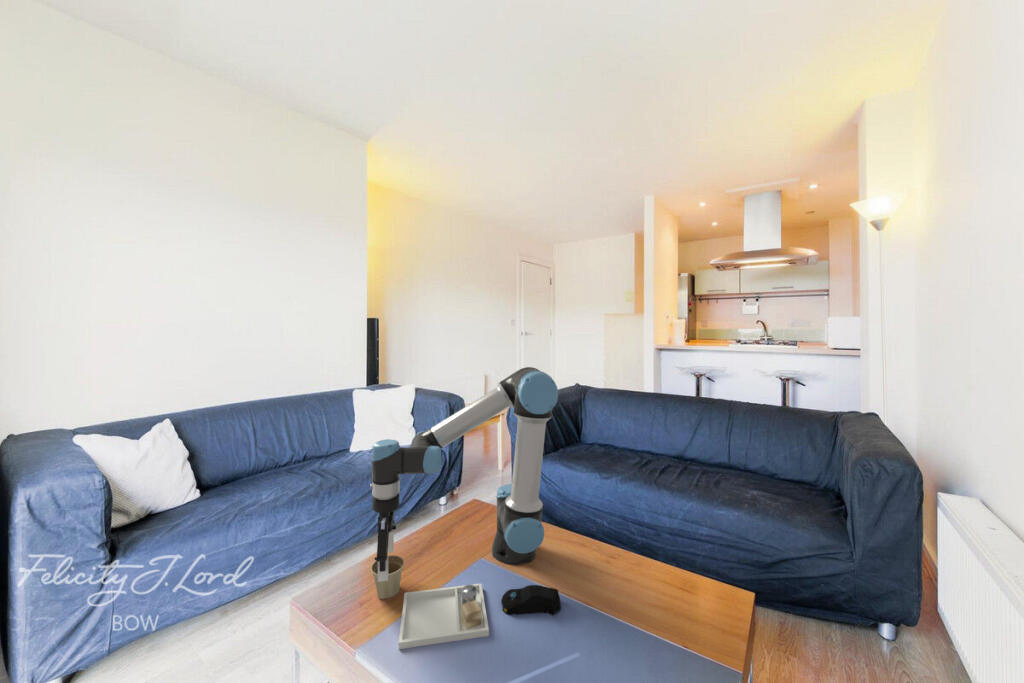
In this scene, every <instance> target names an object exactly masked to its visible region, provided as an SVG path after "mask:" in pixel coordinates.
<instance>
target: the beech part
mask: <svg viewBox="0 0 1024 683" xmlns="http://www.w3.org/2000/svg"><path fill="white" fill-rule="evenodd" d="M461 609H462V621H463V623H464V625H465V627H466V630H467V629H470V628H473V627H476V626H478V625H481V609H480V607H479V605H478V604H477V602H476V600H475V601H471V602H468V603H465V604H462V605H461Z"/></svg>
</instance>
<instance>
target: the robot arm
mask: <svg viewBox="0 0 1024 683" xmlns="http://www.w3.org/2000/svg"><path fill="white" fill-rule="evenodd" d="M558 398H559V389H558V386H557V384H556V382H555V381H554V379H553V378H552V377H551V376H550V375H549V374H548V373H546V372H544V371H541V370H540V369H538V368H535V367H531V366H528V367H527V366H526V367H522V368H520V369H518V370H516V371H515V372H513V373H511V374H510V375H508V376H507V377H505V378H504V379H503V380H500V381H499V382H498V383H497V386H496V387H495V388H494V389H492V390H490V391H489V392H487V393H485V394H484V395H482V396H480V397H479V398H477V399H476V400H474V401H472V402H471V403H469V404H468V405H466V406H464V407H463V408H461V409H459V410H457V411H456V412H455V413H453V414H451V415H450V416H448V417H447V418H445V419H443V420H441V421H440V422H438V423H437V424H435V425H433V426H432V427H430V428H428V429H427V430H422V431H419V432H417V433H416V434H415V435H414V437H413V438H412V440H411V444H410V447H409V446H408V447H406V446H405V447H401V446H400V442H399V441H398V440H396V439H390V438H389V439H387V438H386V439H380V440H378V441H376V442H374V444H373V445H372V451H371V452H372V453H371V477H372V478H371V480H372V482H371V483H370V485H369V487H370V488H371V489H372V490H371V491H372V492H371V493H372V494H371V495H372V497H371V498H372V500H371V501H372V502H371V505H372V506H371V507H372V508H371V509H372V510H373V511H374V512H375V513H379V515H378V517H377V544H376V547H377V548H376V557H374V561H377V562H378V582H380V581H388V556H389V555H388V554H389V553H394V552H395V545H394V540H395V539H394V538H395V536H394V535H395V534H394V533H395V531H394V530H396V529H397V525H395V516H394V515H395V514H394V513H395V512H394V511H396V510H398V508H399V507H400V491H401V490H400V485H401V483H400V475H413V474H414V475H415V474H417V475H419V474H428V475H429V474H432V473H433V474H434V473H439V472H440V471H441V468H442V467H441V466H442V464H441V463H442V457H441V456H442V455H441V454H442V449H443V448H445V447H447V446H448V445H450V444H451V443H453V442H454V441H456V440H457V439H460V438H461V437H462V436H464V435H466V434H467V433H469V432H470V431H472V430H473V429H475V428H477V427H478V426H480V425H482V424H484V423H485V422H487V421H489V420H490V419H492V418H493V417H495V416H496V415H498V414H500V413H502V412H503V411H505V410H506V409H508V408H512V409H513V415H514V416H515V417H516V419H517V427H516V435H515V436H516V438H515V446H514V447H515V448H514V458H513V467H512V468H513V469H512V477H511V478H512V479H511V480H512V481H511V483H510V484H509V483H508V484H503V485H501V486H499V487H498V488H497V490H496V496H495V498H496V532H495V535H494V538H493V542H492V545H491V556H492V557H493V558H494V559H495V560H497V561H498V562H500V563H503V564H505V565H515V566H516V565H521V564H526V563H527V564H528V563H530V562H532V561H533V560H534V559H535V557H536V555H537V549H538V548H540V547H541V545H542V543H543V542H544V539H545V527H544V525H543V524H542V517H543V506H544V504H543V501H542V500H541V499H540V497H539V496H540V487H541V477H542V467H543V457H544V456H543V455H544V449H545V448H544V447H545V445H544V444H545V437H546V428H547V427H546V425H547V422H548V421H549V420H550V419H552V417H553V408H554V407H555V406H556V405H557V402H558Z"/></svg>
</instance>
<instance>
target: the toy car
mask: <svg viewBox="0 0 1024 683" xmlns="http://www.w3.org/2000/svg"><path fill="white" fill-rule="evenodd" d="M501 605H502V612H503V613H504V614H506V615H510V616H511V615H529V614H545V613H546V614H549V615H550V614H552V615H551V616H554V615H555V613H558V612H559V611H560V610H561V608H562V603H561V598H560V594H559V590H558V589H557V588H553V587H548V586H543V585H537V584H531V585H530V584H528V585H526V586H524V587H521V588H512V589H511V588H510V589H508V590H507V591H506V592H505V593H504V594H503V595H502V597H501Z"/></svg>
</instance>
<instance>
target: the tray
mask: <svg viewBox="0 0 1024 683" xmlns="http://www.w3.org/2000/svg"><path fill="white" fill-rule="evenodd" d="M466 585H467V584H466ZM466 585H459V586H458V585H457V586H451V587H450V586H449V587H442V588H441V587H440V588H433V589H425V590H418V591H416V590H415V591H408V592H407V591H406V592H404V595H403V602H402V604H403V605H402V612H401V613H402V614H401V619H400V627H399V628H400V629H399V635H398V636H399V637H398V644H397V645H398V650H403V649H404V650H405V649H410V648H417V647H423V646H425V647H426V646H430V645H437V644H444V643H449V642H457V641H465V640H470V639H471V640H472V639H478V638H485V637H489V636H490V628H489V622H488V617H487V610H486V604H485V598H484V597H485V596H484V592H483V591H484V590H483V584H482V583H481V582H480V583H473V584H471V585H473V586H475V587H476V602H477V604H478V605H479V607H480V609H481V625H478V626H476V627H473V628H470V629H467V630H466V627H465V625H464V623H463V621H462V609H461V605H462V588H463V587H464V586H466Z"/></svg>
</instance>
